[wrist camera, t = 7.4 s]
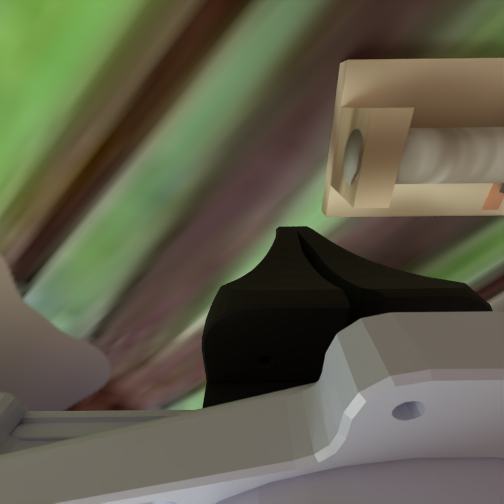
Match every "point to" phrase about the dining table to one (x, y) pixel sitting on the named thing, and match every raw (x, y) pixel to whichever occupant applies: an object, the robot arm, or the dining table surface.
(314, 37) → the dining table surface
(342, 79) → the pipe stand
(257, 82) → the dining table surface
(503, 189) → the dark grey z bracket
